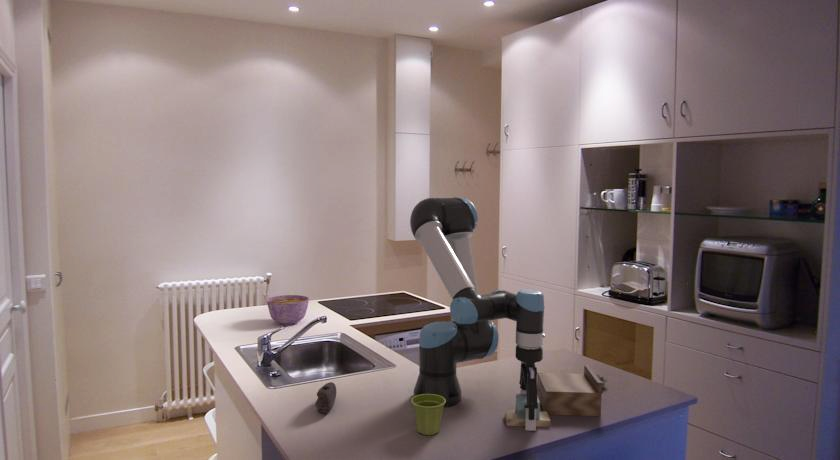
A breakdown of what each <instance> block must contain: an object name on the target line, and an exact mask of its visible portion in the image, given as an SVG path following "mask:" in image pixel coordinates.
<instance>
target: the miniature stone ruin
mask: <svg viewBox="0 0 840 460" xmlns="http://www.w3.org/2000/svg"><path fill="white" fill-rule="evenodd" d="M595 374H596V376H597V377H598V378H599V380H600V381H601V382H602V389H604V388H606V383H607V382H608V378H606V379H605V378H604V376H600V375H599V374H597V373H595Z"/></svg>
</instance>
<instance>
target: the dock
mask: <svg viewBox="0 0 840 460" xmlns="http://www.w3.org/2000/svg"><path fill="white" fill-rule="evenodd" d="M583 367H584V368H583V370H584V371H583V373H569V372H568V373H564V372H537V396H538V399H539V401H540V406H541V407H542V411H543V412H547V413H548V416H550V415H551V416H552V415H553V416H554V415H556V416H580V417H581V416H582V417H583V416H584V417H587V416H588V417H601V416H602V398H603V397H602V394H603V393H602V391H603V388H602V382H601V381H600V380H599V378H598V377H597V376H596V374H597V373H595V372H594V370H593V369H592V368H591V367H590V364H584V366H583Z"/></svg>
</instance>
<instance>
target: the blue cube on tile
mask: <svg viewBox="0 0 840 460" xmlns="http://www.w3.org/2000/svg"><path fill="white" fill-rule="evenodd" d="M531 404H534V403H531ZM537 404H538V408H537V409H536V427H547V428H549V427H551V419H550V415H548V413H547V412H544V410H542V411H541V402H540V400H539V397H538V395H537ZM525 405H527V399H526V394H520V393H516V394H515V409H514V410H509V409H508V410H504V418H505V422H506V426H515V427H518V426H519V427H525V422H526V408H524V406H525Z"/></svg>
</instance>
